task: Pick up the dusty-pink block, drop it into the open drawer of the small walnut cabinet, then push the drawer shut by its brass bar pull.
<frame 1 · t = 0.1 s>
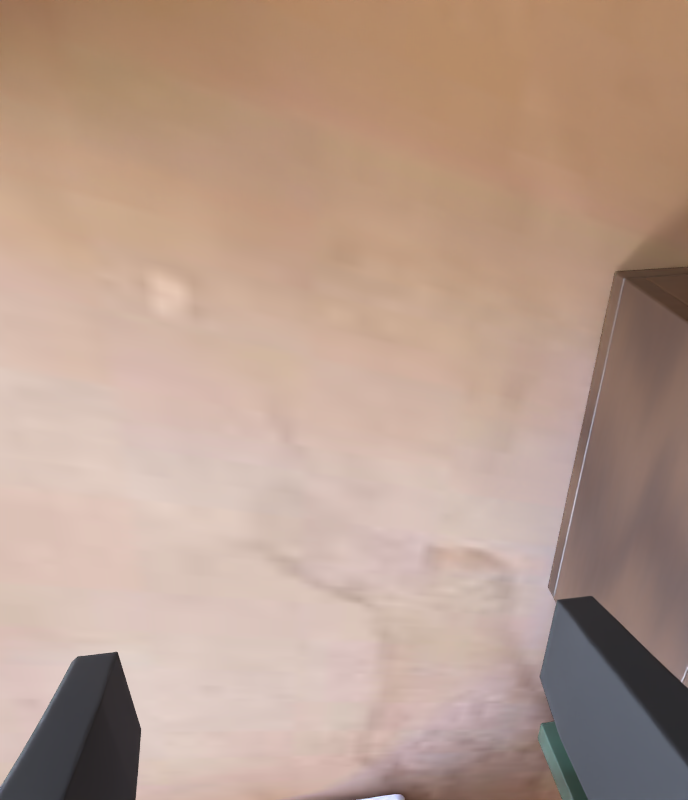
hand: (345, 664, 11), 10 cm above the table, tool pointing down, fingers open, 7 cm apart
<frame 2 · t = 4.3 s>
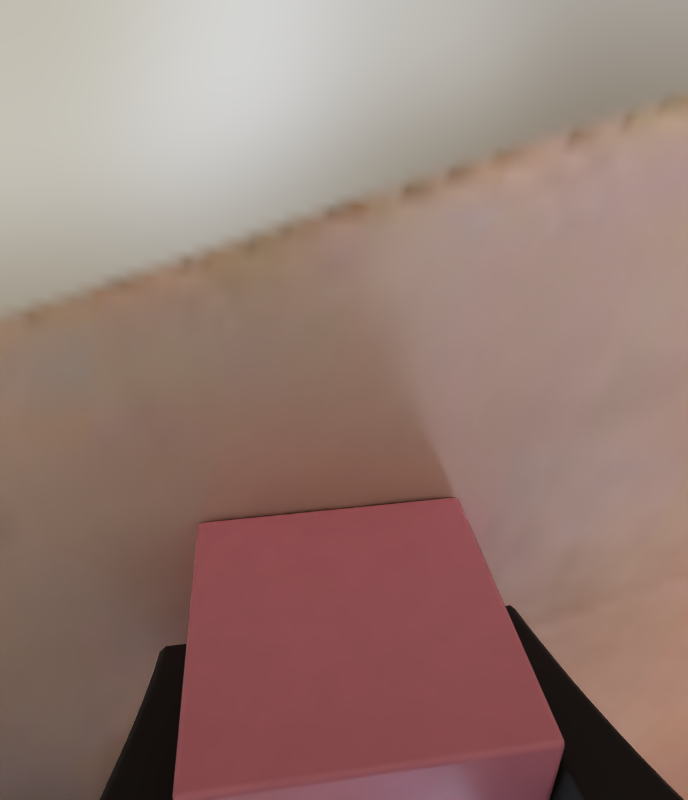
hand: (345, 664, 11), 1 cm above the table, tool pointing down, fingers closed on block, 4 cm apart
block: (333, 599, 12), on the table, touching gripper
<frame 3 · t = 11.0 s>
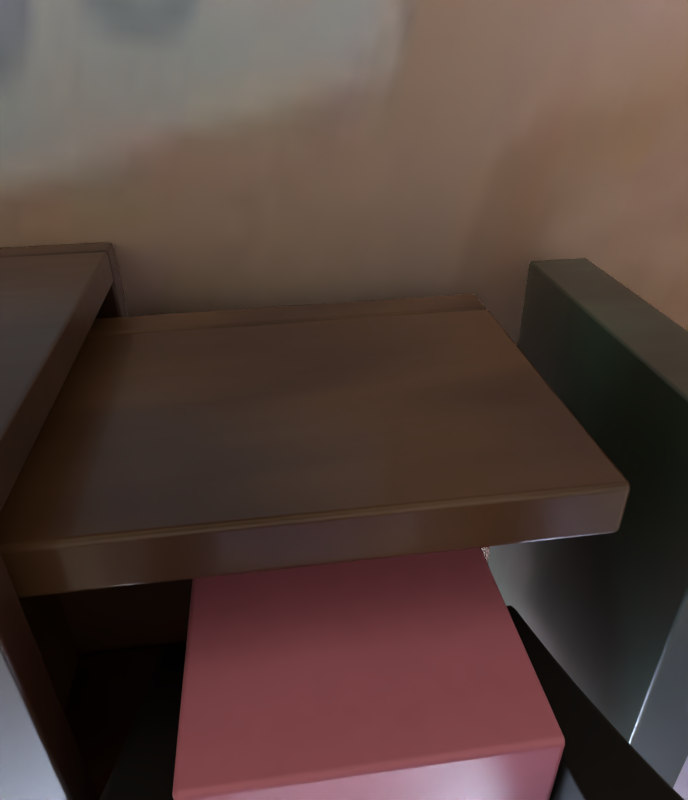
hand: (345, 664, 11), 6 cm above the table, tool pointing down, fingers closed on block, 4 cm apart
block: (333, 597, 12), point 4 cm above the table, touching gripper
drawer: (409, 577, 12), point 4 cm above the table, slide at 8.0 cm
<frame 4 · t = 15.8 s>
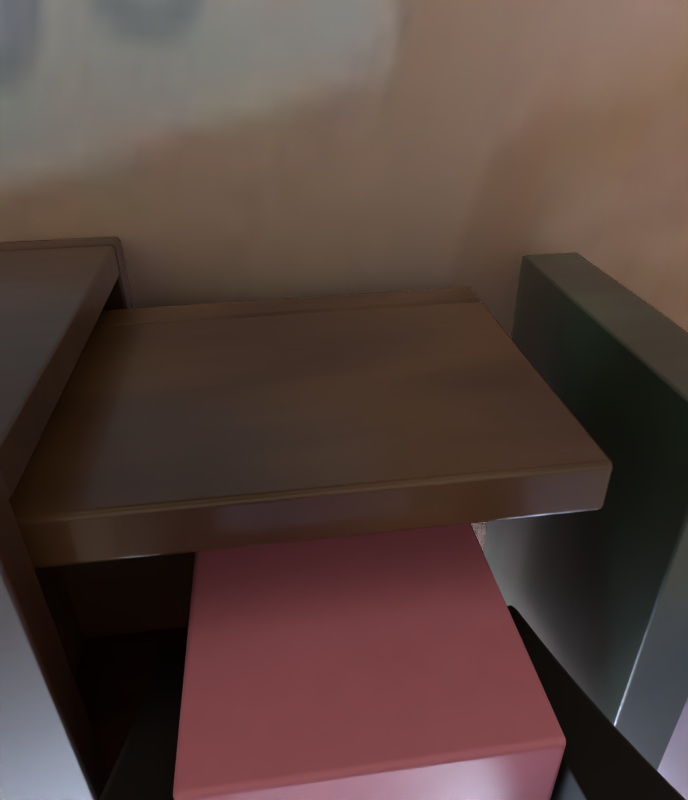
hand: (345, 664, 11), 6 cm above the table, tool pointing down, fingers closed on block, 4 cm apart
block: (334, 597, 12), point 5 cm above the table, touching gripper
drawer: (405, 561, 13), point 4 cm above the table, slide at 8.0 cm
when the fingers open (9 cm above the table, at t = 27.4 s): block drops 6 cm, resting on drawer.
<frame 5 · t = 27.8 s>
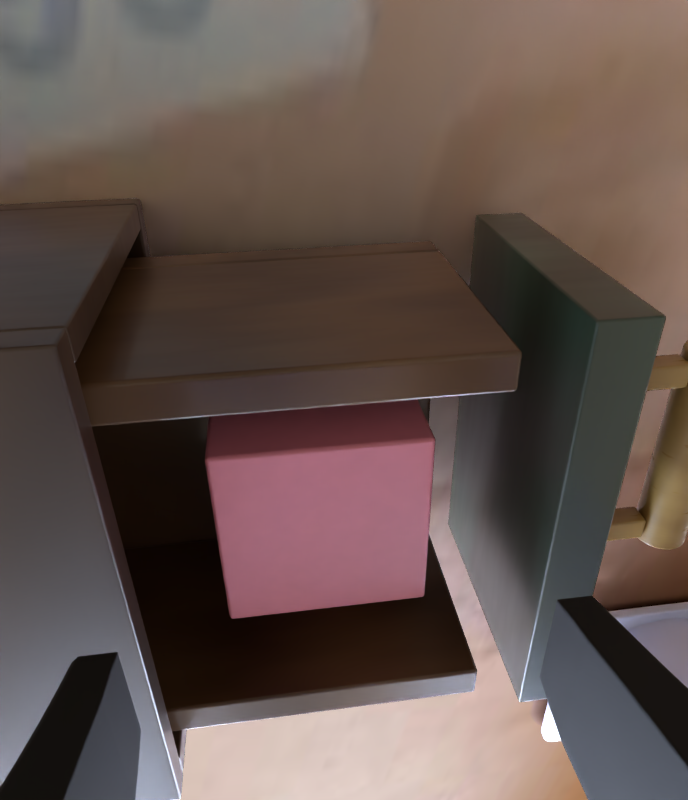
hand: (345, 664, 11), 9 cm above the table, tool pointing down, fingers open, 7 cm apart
block: (308, 420, 17), point 2 cm above the table, touching drawer
drawer: (378, 468, 15), point 4 cm above the table, slide at 8.0 cm, touching block
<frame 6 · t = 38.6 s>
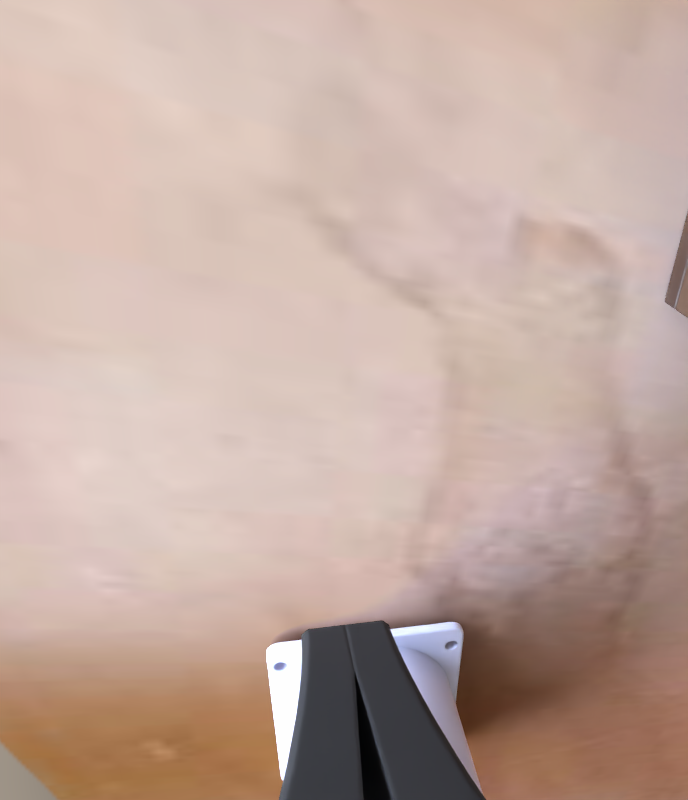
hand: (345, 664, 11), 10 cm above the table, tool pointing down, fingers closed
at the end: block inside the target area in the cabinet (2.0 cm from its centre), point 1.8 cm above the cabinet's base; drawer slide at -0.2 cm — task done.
